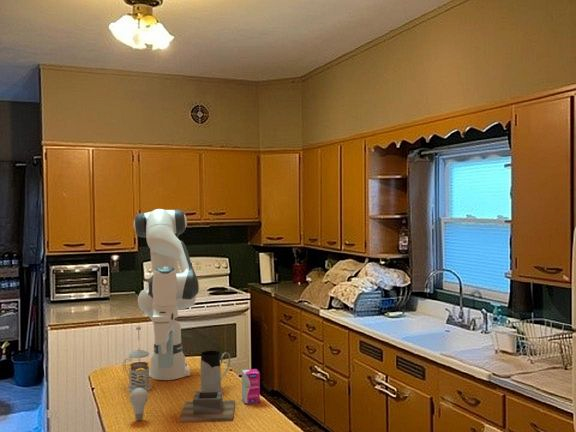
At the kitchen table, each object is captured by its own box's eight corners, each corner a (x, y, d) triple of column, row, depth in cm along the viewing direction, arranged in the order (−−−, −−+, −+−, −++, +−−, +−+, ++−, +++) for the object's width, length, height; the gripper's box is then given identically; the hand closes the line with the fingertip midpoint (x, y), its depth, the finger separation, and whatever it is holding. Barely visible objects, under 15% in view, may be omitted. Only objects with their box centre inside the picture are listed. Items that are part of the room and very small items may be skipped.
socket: (185, 404, 215) (185, 388, 215) (234, 402, 216) (234, 386, 216) (179, 422, 197) (179, 404, 197) (232, 420, 198) (232, 403, 198)
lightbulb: (150, 416, 203) (149, 385, 203) (146, 423, 197) (145, 390, 196) (132, 417, 203) (131, 385, 202) (128, 423, 196) (127, 391, 196)
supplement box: (244, 405, 214) (244, 373, 214) (241, 399, 220) (241, 369, 219) (260, 403, 215) (260, 372, 215) (256, 398, 221) (256, 368, 221)
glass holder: (195, 390, 231) (194, 353, 231) (223, 382, 241) (222, 346, 241) (208, 395, 225) (208, 357, 224) (237, 387, 235) (236, 350, 234)
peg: (160, 363, 210) (160, 330, 210) (173, 363, 210) (172, 330, 210) (158, 367, 205) (158, 333, 205) (171, 367, 206) (170, 333, 205)
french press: (145, 392, 229) (144, 329, 229) (118, 391, 231) (117, 328, 231) (155, 385, 239) (155, 324, 238) (129, 383, 241) (128, 323, 241)
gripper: (161, 307, 218) (161, 344, 218) (151, 318, 197) (151, 359, 197) (178, 307, 218) (178, 343, 218) (169, 318, 197) (170, 358, 198)
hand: (165, 351), depth 208 cm, fingers closed on peg, 4 cm apart
